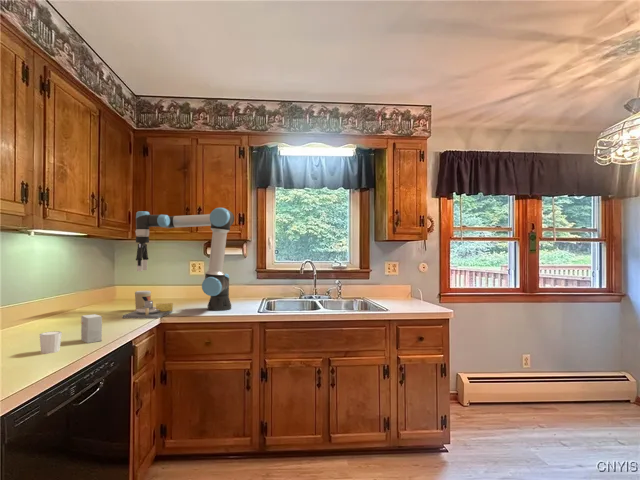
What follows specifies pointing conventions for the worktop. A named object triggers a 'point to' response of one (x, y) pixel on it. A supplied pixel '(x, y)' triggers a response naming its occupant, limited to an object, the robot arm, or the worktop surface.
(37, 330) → the worktop surface
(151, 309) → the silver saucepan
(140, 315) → the base plate
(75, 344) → the worktop surface
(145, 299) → the coffee cup
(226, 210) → the robot arm
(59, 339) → the shot glass
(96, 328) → the small box
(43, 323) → the worktop surface
